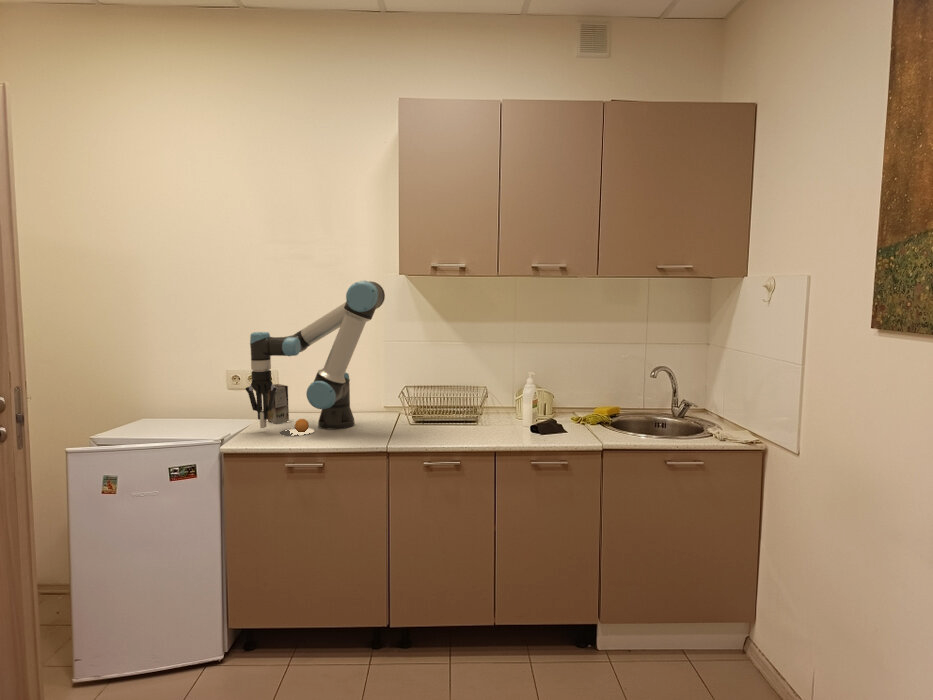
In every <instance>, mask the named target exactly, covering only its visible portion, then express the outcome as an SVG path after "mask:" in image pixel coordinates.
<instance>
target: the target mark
mask: <svg viewBox="0 0 933 700" xmlns="http://www.w3.org/2000/svg"><path fill="white" fill-rule="evenodd" d="M287 429H288V428H287ZM287 429H283V430H281V431H279V433H280V434H281V435H280V434H279V435H280V436H283V435H284V437H292V436H291V435H292V434H293V433H291V434H290V431H289V430H287ZM285 430H287V431H285ZM308 435H311V434H310V433H309V434H308ZM303 436H307V435H306V434H304V435H303ZM293 437H300V436H299V435H298V434H297V435H294V436H293Z"/></svg>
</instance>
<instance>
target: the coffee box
mask: <svg viewBox="0 0 933 700" xmlns="http://www.w3.org/2000/svg"><path fill="white" fill-rule="evenodd" d="M273 385H274V386H275V387H278V390H277V392H276V395H275V400H274V405H273V409H272V410H270V411H268V419H267V420H268V421H267V420H266V421H267V422H269V421H271V422H270V423H272V422H273V423H272V424H275V423H279V424H283V423H282V422H286V423H288V422H287V421H289V422H290V415H289V414H290V413H289V411H290V410H289V386H288V385H285V384H280V383H276V384H273ZM271 392H272V391H271V388H270V390H269V391H268V405H269V400H270V395H271Z"/></svg>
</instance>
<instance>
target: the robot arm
mask: <svg viewBox="0 0 933 700" xmlns="http://www.w3.org/2000/svg"><path fill="white" fill-rule="evenodd" d="M345 294H346V295H345V300H346V301H345V302H344V303H342V304H341V305H339V306H338V307H337V306H336V307H335V308H334V309H332V310H331V311H329V312H327V313H326V314H325V315H323V316H321V317H319V318H318V319H316V320H315V321H313V322H312V323H310V324H309V325H307V326H306V327H303V328H302V329H300V330H298V331H297V332H296V333H294V334H292V335H289V336H279V337H274V336H271V335H270V332H269V331H256V332H255V331H254V332H252V333H250V336H249V337H250V340H249V342H250V343H249V346H250V366H251V367H250V369H251V370H252V371H250V372H251V383H250V385H249V386H247V387H245V391H246V392H247V395H248V397H249V401H250V404H251V409H252V411H253V412H254V411H255V412H257V420H259V422H260V423H259V424H260V425H259V426H260V429H265V428H267V419H268V411H270V410H272V409H273V405H274V400H275V395H276V392H277V390H278V387H275V386H274V384H273V382H272V371H271V368H272V360H271V359H272V358H271V357H272V356H275V357H276V356H278V357H279V356H280V357H282V356H283V357H293V356H294V357H297V356H298V355H299V354H300V353H302V352H304V351H305V350H307V348H308V347H310V346H311V345H313V344H314V343H316V342H318V341H320V340H321V339H324V338H325V337H326V336H328V335H330V334H331V333H333V332H334V331H336V330H338V332H337V334H336V336H335V339H334V340H333V343H332V346H331V349H330V351H329V354H328V356H327V358H326V361H325V364H324V366H323V368H321V369H319V370H317V373H316V375H315V378H314V380H313V382H311V383H310V384H309V385H308V387H307V389H306V393H305V394H306V399H307V401H308V402H309V404H310V405H311V406H312V407H314V408H315V409H317V410H321V411H320V414H319V417H318V422H317V423H318V424H317V425H318V428H320V429H323V428H324V430H340V429H341V430H342V429H349V428H352V427H353V426H355V425H354V424H355V417H354V414H353V411H352V409H351V397H350V396H351V395H350V393H351V392H350V391H351V388H350V384H351V383H350V381H351V379H350V375H349V373H348V372H346V371H347V369H348V366H349V365H350V362H351V359H352V357H353V355H354V353H355V349H356V347H357V345H358V343H359V340H360V337H361V335H362V333H363V331H364V328H365V326H366V323H367V322H370V321H371V320H372V319H373V316H374V315H375V312H376V310H378V309H379V308H380V307H381V306H382V305H383V304H384V301H385V299H386V298H385V297H386V296H385V295H386V294H385V290H384V288H383V286H381V284H379V283H378V282H376V281H371V280H370V281H368V280H360V281H359V280H358V281H356V282H354V283H352V284H351V285H350V286H349V287H348V289H347V291H346V293H345ZM270 388H271V391H272V392H271V395H270V400H269V405H268V391H269V390H270ZM254 391H255V393H254ZM255 396H256V397H255Z"/></svg>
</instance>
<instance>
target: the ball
mask: <svg viewBox="0 0 933 700" xmlns="http://www.w3.org/2000/svg"><path fill="white" fill-rule="evenodd" d="M294 423H295V424H294V428H295V429H296V430H297V431H298V432H305V431H306V430H307V429H308V428H310V426H309V425H310V424H309V422H308V420H307V419H305V418H299V419H297V420H296V421H295V422H294Z"/></svg>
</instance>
